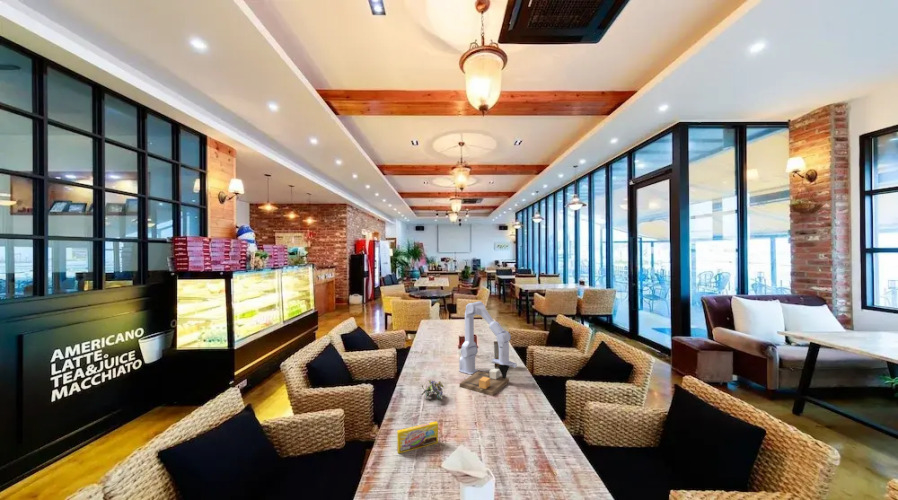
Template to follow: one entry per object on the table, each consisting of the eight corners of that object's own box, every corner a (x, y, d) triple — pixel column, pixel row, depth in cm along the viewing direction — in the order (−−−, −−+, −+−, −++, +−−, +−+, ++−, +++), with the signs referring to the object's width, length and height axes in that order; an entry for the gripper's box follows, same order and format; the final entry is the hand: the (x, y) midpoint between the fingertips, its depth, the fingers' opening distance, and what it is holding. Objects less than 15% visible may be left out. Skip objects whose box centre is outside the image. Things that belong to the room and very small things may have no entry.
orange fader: (479, 387, 173) (478, 379, 173) (483, 383, 177) (483, 376, 177) (485, 389, 171) (485, 381, 171) (490, 385, 175) (490, 378, 175)
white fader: (489, 377, 185) (489, 370, 185) (493, 375, 189) (493, 368, 189) (496, 379, 183) (495, 372, 183) (499, 376, 187) (499, 369, 187)
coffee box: (508, 366, 210) (507, 341, 209) (509, 369, 203) (508, 344, 203) (494, 365, 211) (493, 340, 210) (494, 369, 204) (494, 343, 204)
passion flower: (440, 409, 166) (445, 396, 159) (419, 407, 164) (423, 394, 158) (440, 389, 175) (445, 375, 169) (420, 387, 174) (424, 373, 167)
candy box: (398, 454, 122) (398, 432, 122) (396, 451, 124) (396, 429, 124) (438, 443, 129) (438, 422, 128) (436, 440, 131) (436, 420, 130)
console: (458, 387, 179) (458, 384, 179) (478, 374, 197) (478, 370, 197) (490, 396, 167) (490, 392, 167) (509, 381, 186) (509, 377, 186)
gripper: (488, 353, 184) (489, 377, 184) (512, 358, 175) (513, 383, 175) (494, 350, 189) (495, 373, 189) (518, 354, 181) (518, 378, 181)
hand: (504, 377), depth 183 cm, fingers closed
